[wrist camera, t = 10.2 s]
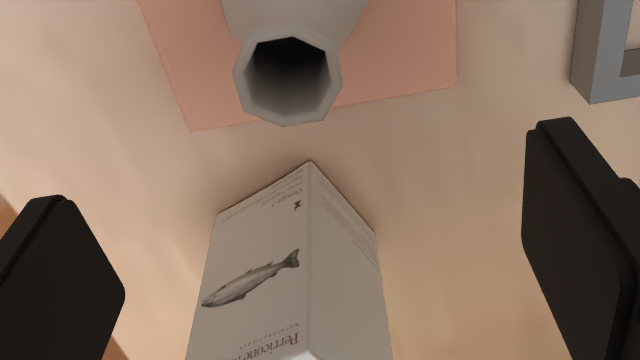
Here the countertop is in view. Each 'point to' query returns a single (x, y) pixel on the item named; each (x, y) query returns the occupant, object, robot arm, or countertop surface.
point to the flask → (290, 55)
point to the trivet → (355, 56)
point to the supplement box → (291, 279)
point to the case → (604, 52)
